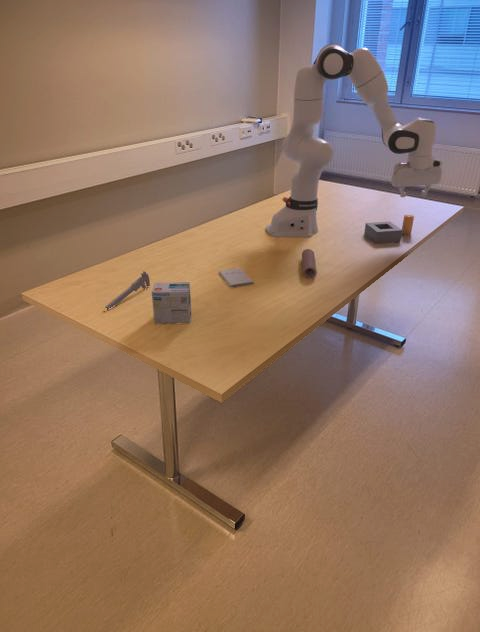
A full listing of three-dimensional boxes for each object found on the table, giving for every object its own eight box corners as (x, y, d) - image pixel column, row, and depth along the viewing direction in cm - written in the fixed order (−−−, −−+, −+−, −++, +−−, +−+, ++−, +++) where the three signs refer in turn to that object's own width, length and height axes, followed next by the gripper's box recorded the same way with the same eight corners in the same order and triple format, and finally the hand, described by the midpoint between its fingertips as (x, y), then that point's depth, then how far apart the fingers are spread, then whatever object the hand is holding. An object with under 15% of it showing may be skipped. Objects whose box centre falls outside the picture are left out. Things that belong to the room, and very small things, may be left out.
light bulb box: (191, 313, 153) (190, 281, 148) (190, 324, 147) (189, 291, 142) (156, 313, 153) (153, 281, 147) (154, 324, 147) (151, 291, 142)
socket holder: (375, 243, 205) (377, 231, 202) (364, 234, 214) (365, 223, 212) (400, 241, 207) (402, 230, 204) (388, 232, 216) (389, 221, 214)
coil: (317, 268, 173) (315, 248, 188) (304, 266, 173) (302, 247, 188) (315, 280, 175) (312, 260, 190) (302, 278, 175) (300, 258, 191)
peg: (403, 236, 212) (407, 218, 208) (399, 233, 216) (402, 215, 212) (412, 235, 213) (415, 217, 209) (407, 232, 216) (411, 214, 213)
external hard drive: (230, 289, 169) (218, 274, 179) (253, 285, 171) (240, 271, 181) (230, 285, 168) (218, 270, 178) (253, 281, 170) (240, 267, 181)
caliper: (147, 287, 169) (146, 269, 166) (150, 287, 169) (148, 270, 166) (102, 312, 154) (100, 293, 151) (105, 313, 153) (102, 294, 150)
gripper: (398, 165, 195) (393, 200, 202) (446, 161, 199) (439, 196, 205) (390, 161, 200) (386, 195, 207) (437, 158, 204) (431, 192, 211)
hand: (413, 196), depth 206 cm, fingers open, 8 cm apart
